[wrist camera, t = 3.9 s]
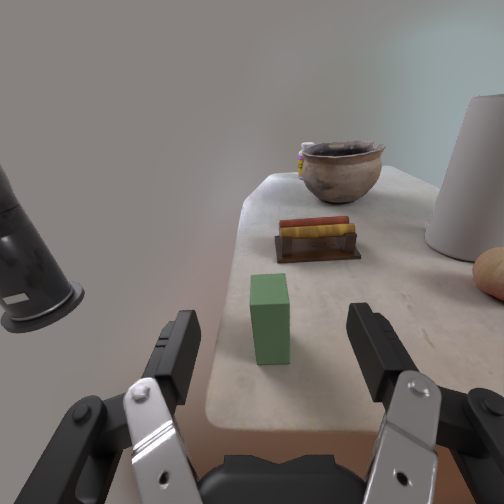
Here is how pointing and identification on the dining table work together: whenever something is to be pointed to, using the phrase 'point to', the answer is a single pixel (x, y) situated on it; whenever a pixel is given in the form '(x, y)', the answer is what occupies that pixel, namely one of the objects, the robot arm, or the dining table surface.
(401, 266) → the dining table surface
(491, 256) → the fruit
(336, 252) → the rod rack
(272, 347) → the green bar
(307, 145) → the supplement bottle
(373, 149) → the ceramic bowl
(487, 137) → the cylinder vase
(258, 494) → the robot arm
